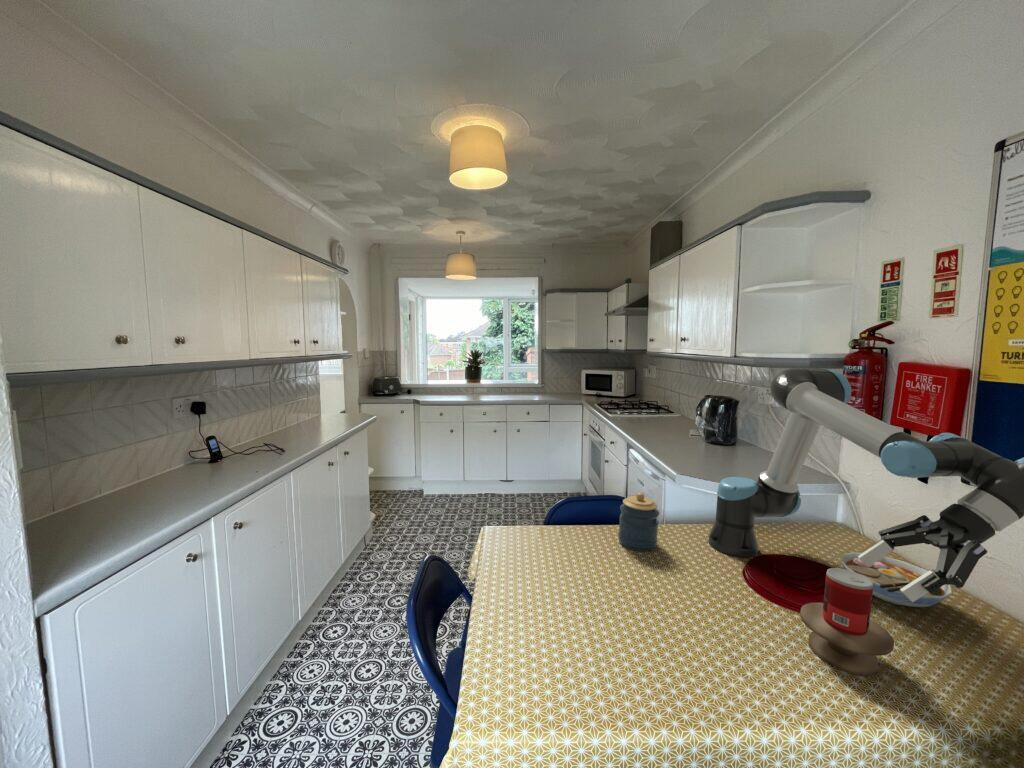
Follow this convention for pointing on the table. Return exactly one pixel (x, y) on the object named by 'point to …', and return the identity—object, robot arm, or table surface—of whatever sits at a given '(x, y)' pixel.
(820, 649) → the cake stand
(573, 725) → the table surface
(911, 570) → the ramen bowl
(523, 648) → the table surface
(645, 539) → the canister
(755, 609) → the table surface
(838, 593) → the canned food
